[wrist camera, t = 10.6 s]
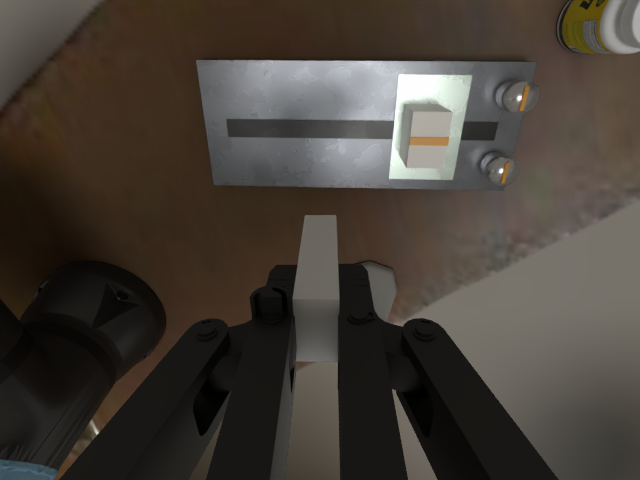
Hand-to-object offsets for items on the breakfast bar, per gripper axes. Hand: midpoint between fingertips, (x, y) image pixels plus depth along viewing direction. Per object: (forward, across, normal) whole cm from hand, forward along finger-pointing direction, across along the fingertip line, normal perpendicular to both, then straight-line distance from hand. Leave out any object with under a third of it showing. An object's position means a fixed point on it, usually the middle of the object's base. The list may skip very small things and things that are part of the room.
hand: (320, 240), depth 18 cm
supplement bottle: (+19, +21, +10) cm, 30 cm away
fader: (+17, +8, +2) cm, 19 cm away
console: (+20, +3, +2) cm, 20 cm away
